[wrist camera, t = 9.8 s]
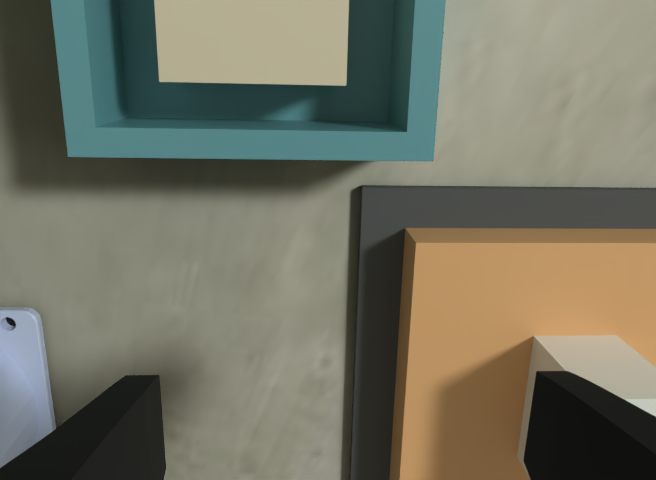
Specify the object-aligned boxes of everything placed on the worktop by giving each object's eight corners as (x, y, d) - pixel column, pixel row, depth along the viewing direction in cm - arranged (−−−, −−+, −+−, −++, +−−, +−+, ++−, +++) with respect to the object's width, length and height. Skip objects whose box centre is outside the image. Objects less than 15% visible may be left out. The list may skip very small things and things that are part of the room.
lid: (388, 500, 24) (418, 632, 18) (405, 227, 20) (448, 288, 15) (658, 491, 24) (766, 616, 19) (719, 228, 21) (873, 286, 15)
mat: (347, 527, 24) (348, 535, 24) (361, 185, 20) (362, 187, 20) (680, 517, 25) (686, 524, 25) (761, 189, 21) (769, 191, 21)
